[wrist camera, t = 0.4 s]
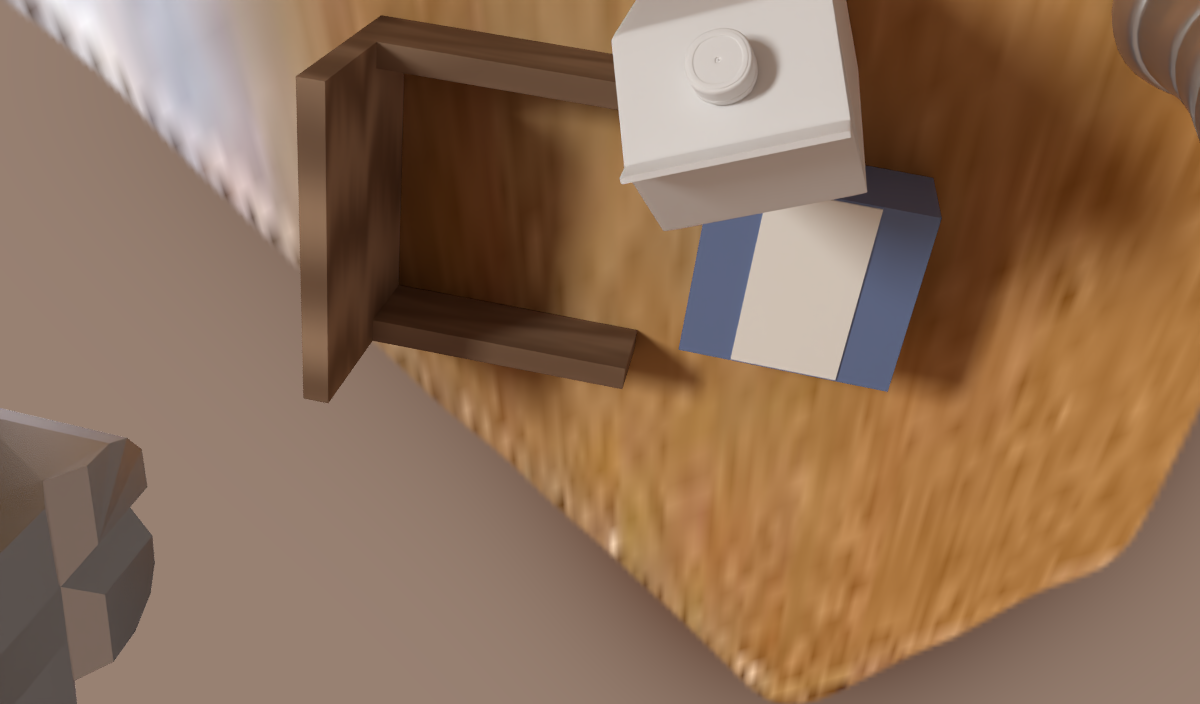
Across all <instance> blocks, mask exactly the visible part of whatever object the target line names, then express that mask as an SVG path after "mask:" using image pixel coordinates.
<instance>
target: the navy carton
mask: <svg viewBox="0 0 1200 704" xmlns="http://www.w3.org/2000/svg"><path fill="white" fill-rule="evenodd" d="M865 170H866V184H867V192H866V193H863V194H859V195H854V196H849V197H844V198H839V199H834V200H828V201H823V202H818V203H812V204H807V205H802V206H797V207H791V208H786V209H781V210H776V211H770V212H765V213H760V214H755V215H749V216H744V217H739V218H734V219H728V220H723V221H718V222H712V223H707V224H703V226H702V231H701V237H700V242H699V247H698V252H697V257H696V262H695V268H694V273H693V278H692V283H691V288H690V294H689V299H688V304H687V309H686V314H685V320H684V325H683V330H682V335H681V340H680V345H679V350H683V351H688V352H693V353H698V354H703V355H708V356H713V357H718V358H723V359H728V360H733V361H738V362H743V363H748V364H753V365H758V366H763V367H768V368H773V369H778V370H782V371H787V372H792V373H797V374H802V375H807V376H812V377H817V378H822V379H827V380H832V381H837V382H842V383H847V384H852V385H857V386H862V387H867V388H872V389H877V390H882V391H887V392H888V389H889V385H890V382H891V379H892V376H893V373H894V369H895V366H896V363H897V360H898V357H899V353H900V350H901V347H902V344H903V341H904V337H905V334H906V331H907V328H908V325H909V321H910V318H911V315H912V312H913V308H914V305H915V302H916V299H917V296H918V292H919V289H920V286H921V283H922V280H923V276H924V273H925V270H926V267H927V264H928V260H929V257H930V254H931V251H932V248H933V244H934V241H935V238H936V235H937V232H938V228H939V225H940V222H941V219H942V217H941V213H940V208H939V203H938V198H937V193H936V189H935V184H934V179H933V178H931V177H926V176H920V175H915V174H909V173H904V172H899V171H893V170H888V169H882V168H877V167H872V166H866V165H865Z"/></svg>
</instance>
